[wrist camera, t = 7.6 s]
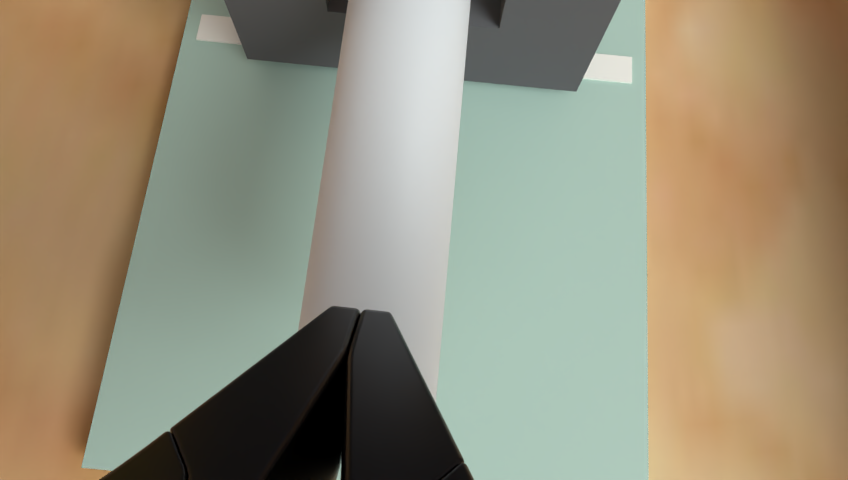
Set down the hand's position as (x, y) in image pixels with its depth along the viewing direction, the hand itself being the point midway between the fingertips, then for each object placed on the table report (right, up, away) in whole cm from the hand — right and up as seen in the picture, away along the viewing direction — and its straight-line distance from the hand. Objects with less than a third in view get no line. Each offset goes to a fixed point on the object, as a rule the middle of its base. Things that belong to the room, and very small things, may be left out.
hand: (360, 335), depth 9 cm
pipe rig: (0, +6, +14) cm, 15 cm away
